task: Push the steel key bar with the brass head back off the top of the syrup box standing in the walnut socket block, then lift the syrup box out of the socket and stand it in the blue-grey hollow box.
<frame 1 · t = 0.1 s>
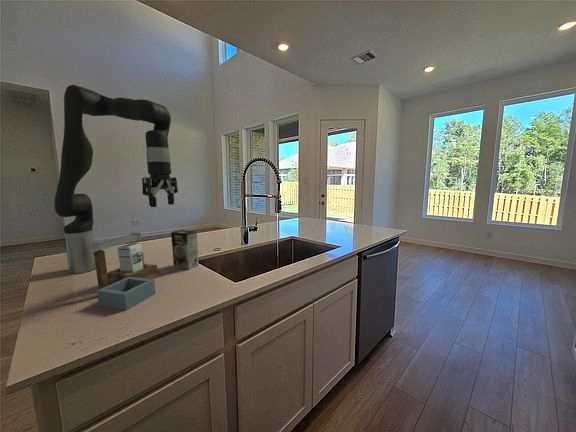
hand: (162, 205, 90), 29 cm above the worktop, tool pointing down, fingers open, 8 cm apart
key bar: (118, 241, 87), point 17 cm above the worktop, slide at 0.0 cm
socket block: (134, 281, 94), on the worktop
syrup box: (134, 281, 94), resting in socket block
coffee box: (186, 266, 109), on the worktop
blue-grey hollow box: (128, 299, 79), on the worktop
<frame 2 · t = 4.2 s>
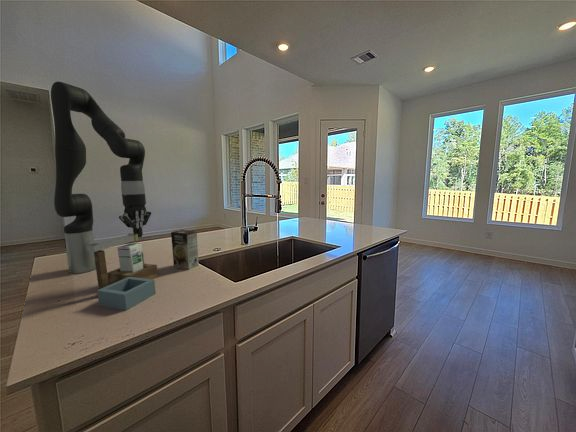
hand: (138, 237, 95), 16 cm above the worktop, tool pointing down, fingers closed
key bar: (114, 242, 85), point 17 cm above the worktop, slide at 1.4 cm, touching gripper
everything else where it was.
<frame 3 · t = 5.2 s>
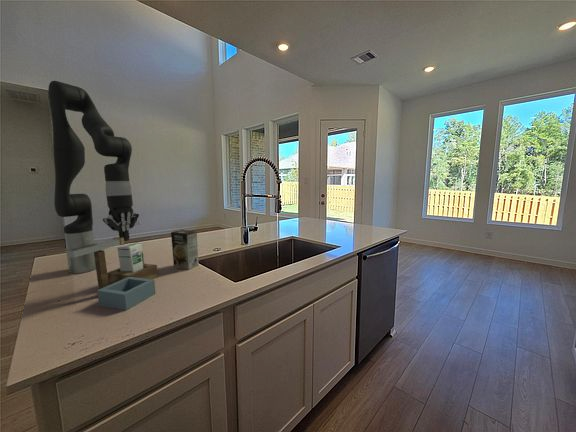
hand: (124, 240, 89), 17 cm above the worktop, tool pointing down, fingers closed
key bar: (97, 246, 80), point 17 cm above the worktop, slide at 7.3 cm, touching gripper
everything else where it was.
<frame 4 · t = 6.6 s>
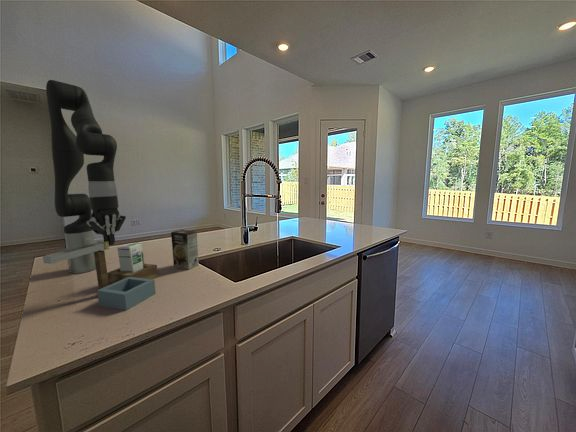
hand: (109, 244, 84), 17 cm above the worktop, tool pointing down, fingers closed
key bar: (78, 251, 74), point 17 cm above the worktop, slide at 13.0 cm, touching gripper
everything else where it was.
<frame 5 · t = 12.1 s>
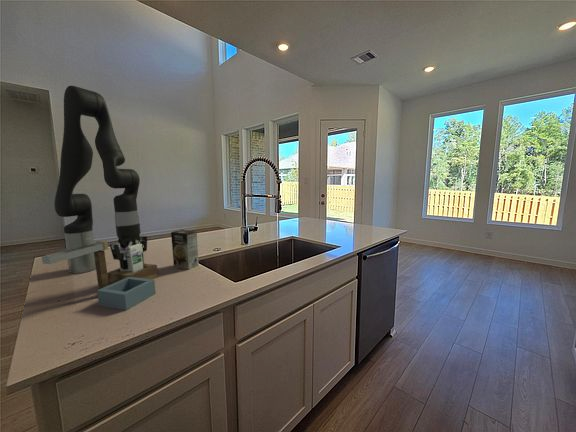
hand: (132, 266, 93), 6 cm above the worktop, tool pointing down, fingers closed on syrup box, 6 cm apart
key bar: (77, 251, 74), point 17 cm above the worktop, slide at 13.2 cm
syrup box: (134, 281, 94), resting in socket block, touching gripper
everything else where it was.
when the fingers open (9 cm above the worktop, at t = 19.7 s): syrup box drops 2 cm, resting on blue-grey hollow box.
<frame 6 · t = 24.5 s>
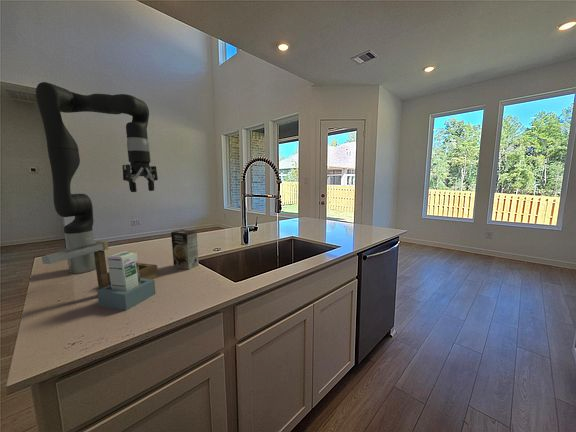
hand: (142, 191, 99), 34 cm above the worktop, tool pointing down, fingers open, 8 cm apart
syrup box: (127, 297, 79), point 1 cm above the worktop, touching blue-grey hollow box
everything else where it was.
at the end: key bar slide at 13.2 cm; syrup box 0.2 cm off-centre on the blue-grey hollow box, point 0.8 cm above the blue-grey hollow box's base; syrup box tilted 0° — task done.
